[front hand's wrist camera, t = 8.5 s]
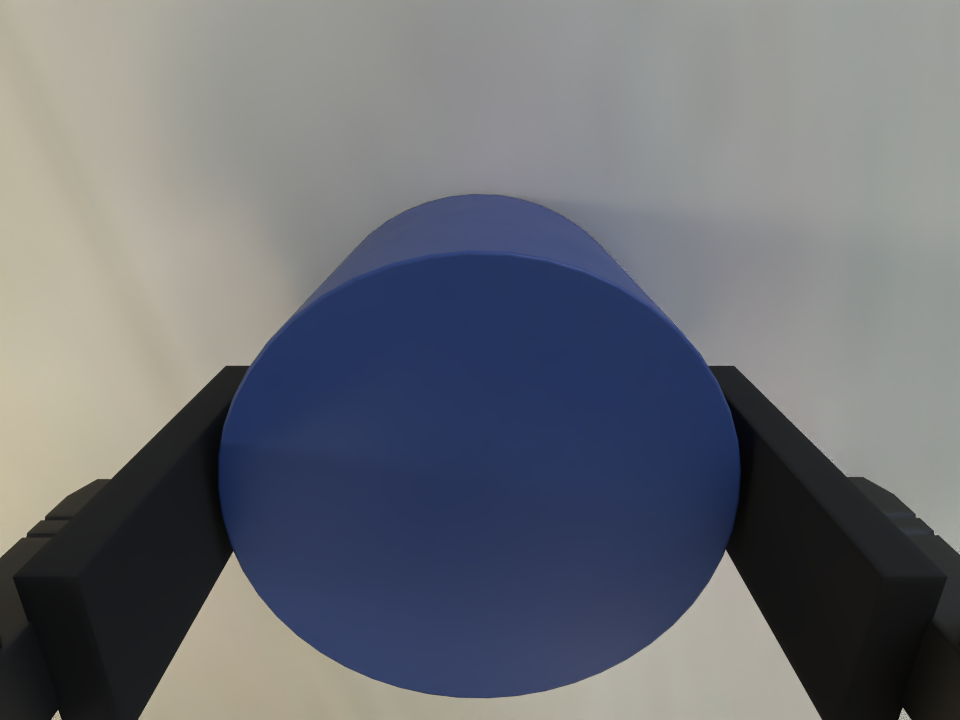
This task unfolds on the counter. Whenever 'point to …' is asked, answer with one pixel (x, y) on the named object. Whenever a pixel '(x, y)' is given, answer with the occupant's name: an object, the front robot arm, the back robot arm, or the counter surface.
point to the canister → (479, 458)
